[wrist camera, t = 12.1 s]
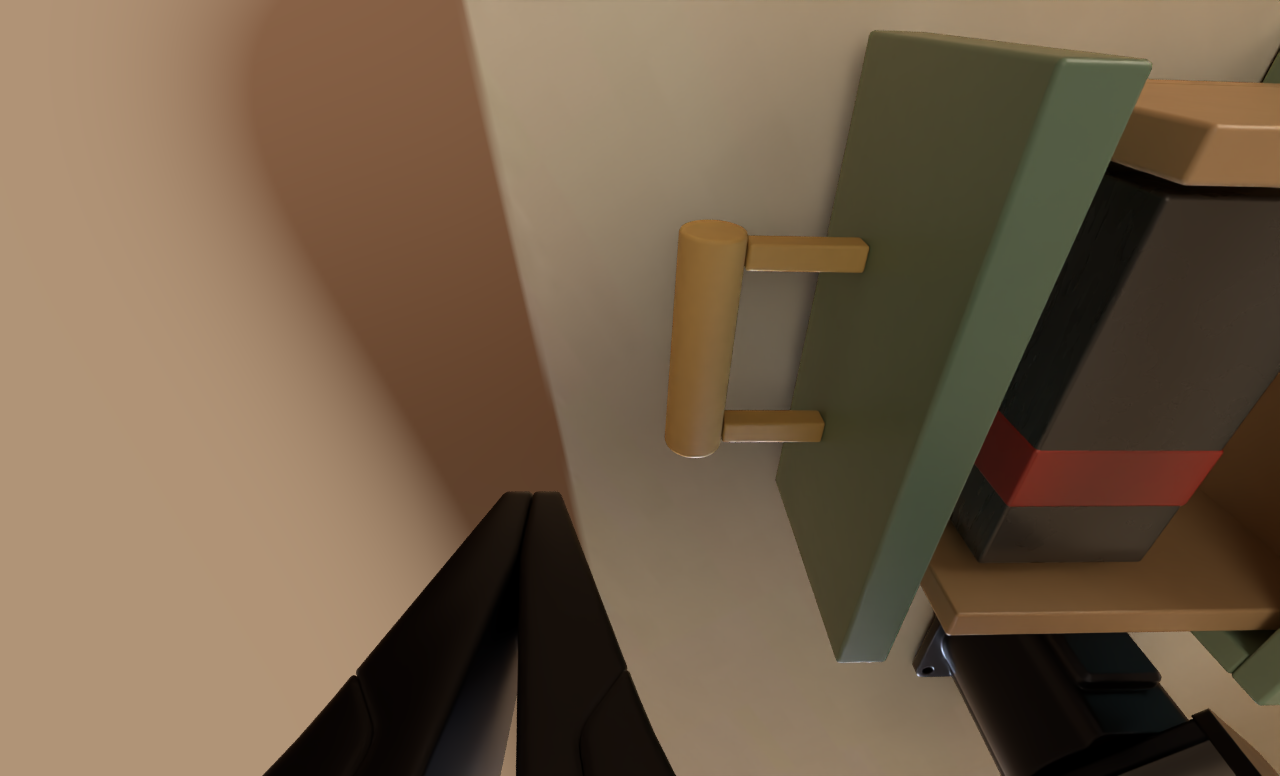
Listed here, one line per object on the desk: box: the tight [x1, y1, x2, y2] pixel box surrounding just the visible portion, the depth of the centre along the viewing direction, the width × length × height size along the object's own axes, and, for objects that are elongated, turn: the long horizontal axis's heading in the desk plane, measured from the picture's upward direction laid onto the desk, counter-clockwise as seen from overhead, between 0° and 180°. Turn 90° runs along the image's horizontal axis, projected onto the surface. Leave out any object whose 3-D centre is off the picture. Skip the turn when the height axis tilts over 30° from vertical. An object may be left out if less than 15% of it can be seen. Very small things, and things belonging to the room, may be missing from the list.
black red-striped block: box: [949, 161, 1280, 563], centre depth 13 cm, size 4×8×4 cm, turn 178°
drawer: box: [665, 30, 1280, 663], centre depth 13 cm, size 16×12×6 cm
